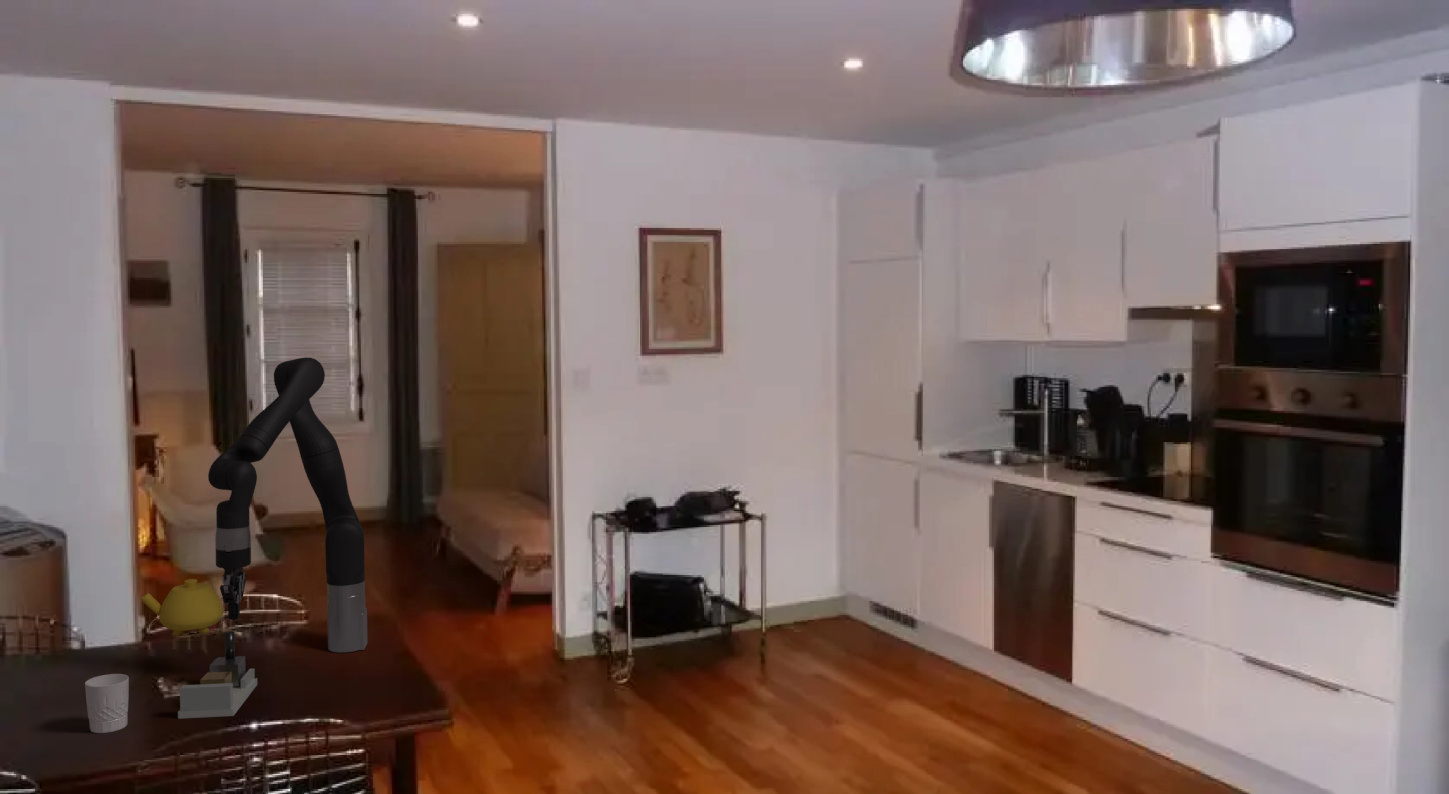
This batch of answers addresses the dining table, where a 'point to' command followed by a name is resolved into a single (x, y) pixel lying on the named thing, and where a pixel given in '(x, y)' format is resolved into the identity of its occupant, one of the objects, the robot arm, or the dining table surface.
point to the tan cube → (217, 678)
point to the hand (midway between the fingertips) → (234, 618)
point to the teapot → (188, 607)
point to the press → (215, 698)
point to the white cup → (107, 702)
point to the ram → (230, 661)
